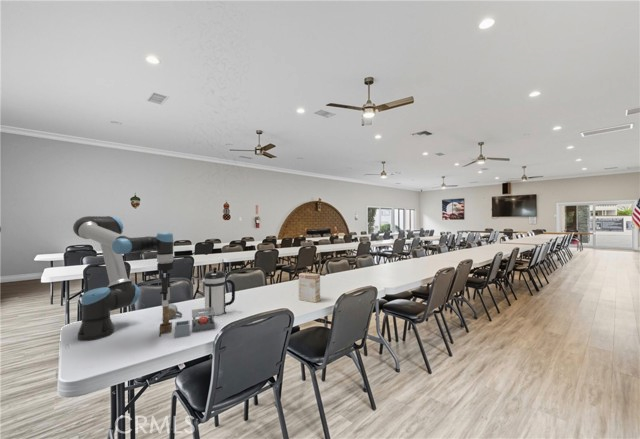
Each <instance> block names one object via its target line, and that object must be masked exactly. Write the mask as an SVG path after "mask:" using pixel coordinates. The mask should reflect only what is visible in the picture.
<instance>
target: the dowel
mask: <svg viewBox="0 0 640 439" xmlns="http://www.w3.org/2000/svg"><path fill="white" fill-rule="evenodd" d="M169 301H170V300H169V295H168V306H165V307H162V323H163V326H168V325H169V322H170V319H169V304H170V302H169Z"/></svg>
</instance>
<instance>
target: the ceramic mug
mask: <svg viewBox="0 0 640 439" xmlns="http://www.w3.org/2000/svg"><path fill="white" fill-rule="evenodd" d="M178 310H179V309H178V307H177V305H176V304H174V303H169V320H172V319H174V318H182V317H183V313H182V312H180V311H178Z"/></svg>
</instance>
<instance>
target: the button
mask: <svg viewBox="0 0 640 439" xmlns="http://www.w3.org/2000/svg"><path fill="white" fill-rule="evenodd" d="M207 318H208V316H201V317H198V319H199V323H206V322H207Z"/></svg>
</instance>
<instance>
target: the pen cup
mask: <svg viewBox="0 0 640 439" xmlns="http://www.w3.org/2000/svg"><path fill="white" fill-rule="evenodd" d="M190 323H191V322H190V320H183V321H176V322H175V323H174V338H181V337H187V336H188V337H189V336H190V334H191V331H190V330H191V329H190V327H191V326H190V325H191V324H190Z"/></svg>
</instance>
